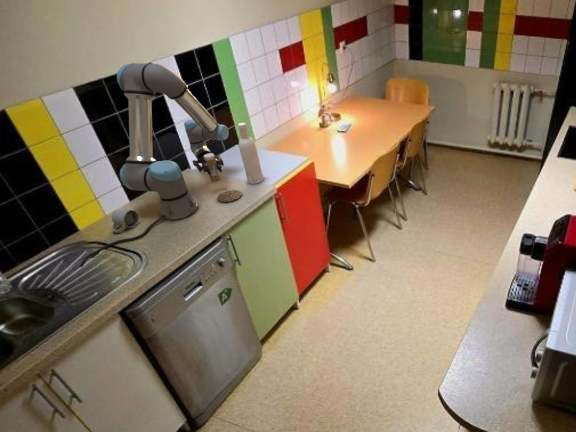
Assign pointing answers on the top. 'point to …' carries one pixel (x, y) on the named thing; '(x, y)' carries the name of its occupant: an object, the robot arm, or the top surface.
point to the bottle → (249, 156)
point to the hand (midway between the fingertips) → (215, 171)
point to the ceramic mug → (124, 219)
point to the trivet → (229, 196)
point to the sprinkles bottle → (212, 167)
